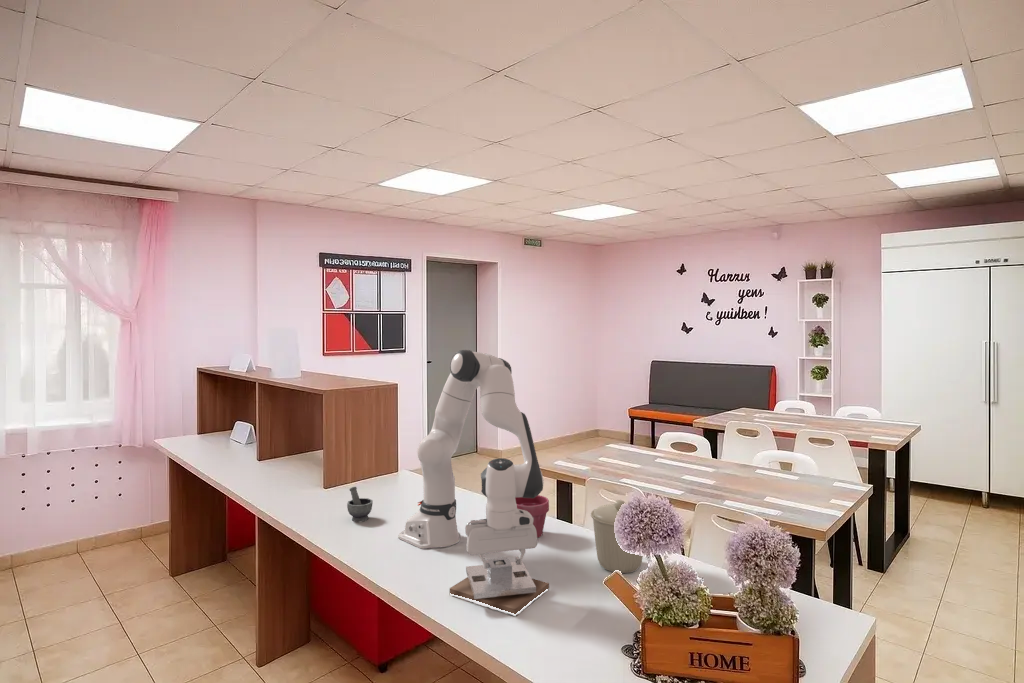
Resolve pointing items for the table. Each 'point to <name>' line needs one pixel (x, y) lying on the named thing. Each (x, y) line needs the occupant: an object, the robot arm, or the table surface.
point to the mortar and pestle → (359, 506)
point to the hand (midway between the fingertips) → (502, 565)
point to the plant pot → (535, 510)
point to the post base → (502, 602)
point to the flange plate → (499, 579)
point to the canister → (611, 541)
